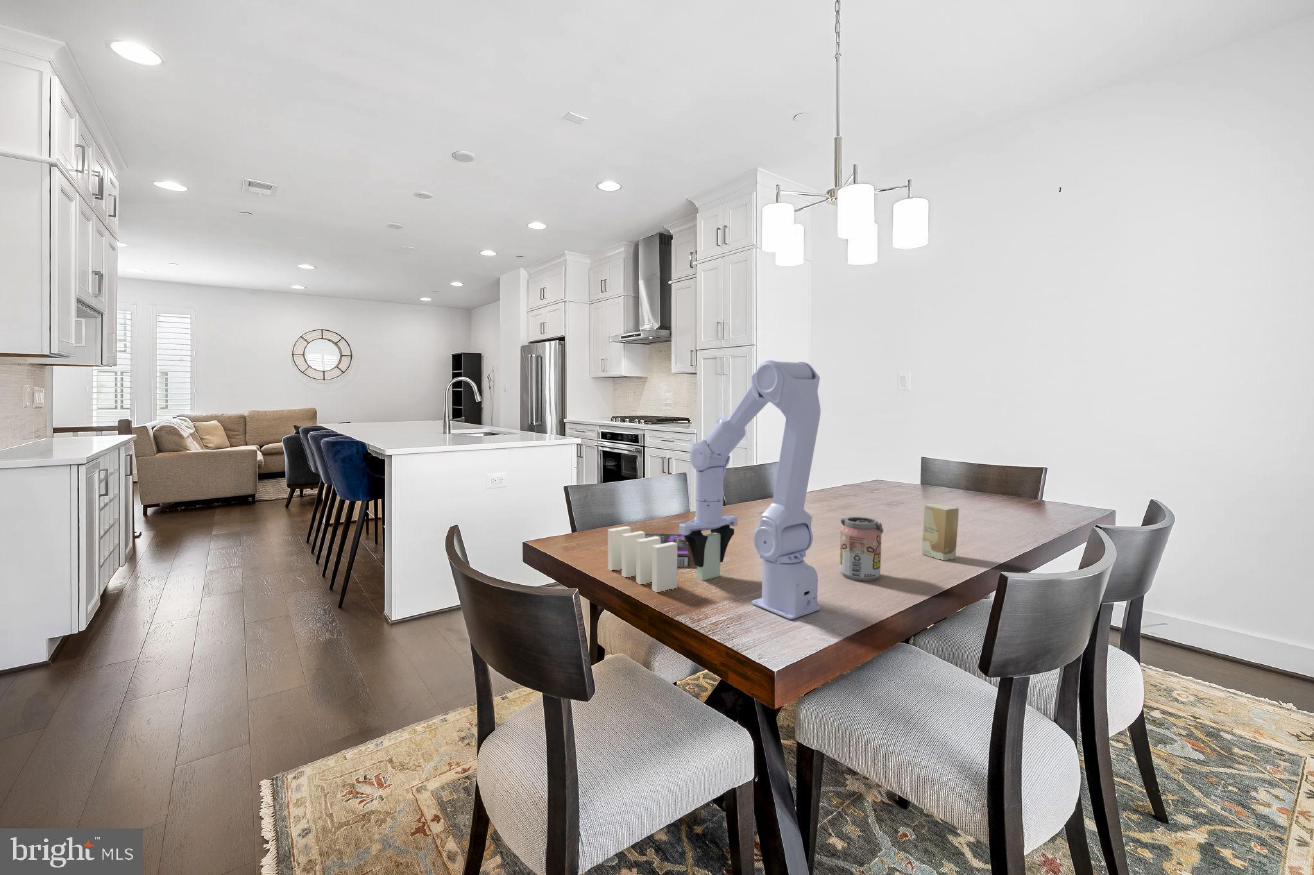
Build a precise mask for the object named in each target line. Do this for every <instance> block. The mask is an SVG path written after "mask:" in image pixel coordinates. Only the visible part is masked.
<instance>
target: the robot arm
mask: <svg viewBox="0 0 1314 875" xmlns="http://www.w3.org/2000/svg"><path fill="white" fill-rule="evenodd" d="M820 379H821V376H820V375H819V374H818V373H817V371H816V370H815V369H814V367H813V366H812V365H811V364H810V363H807V362H805V361H798V362H795V361H794V362H793V361H776V360H773V359H769V360H765V361H763V362H762V363H761V364H760V365H758V368H757V369H756V371H755V372H753V374H752V375H751V385H750V386H749V388H748V389H747V391H746V392H745V393H744V394H743V397H742V398H741V400H740V401H739V403H738V404H737V405H736V407H735V409H734V410H733V411H732V413H731V415H730V416H729V415H726V416H723V417H720V418H718V419H717V420H716V424H715V426H714V427H713V429H712V430H711V431H710V432H709V434H707V435H706V436H705V439H704V440H703V439H702V441H696V442H694V443H693V444H692V447H691V449H690V452H689V460H690V464H691V465H692V467H693V469H694V470H695V517H693V519H692V520H689V521H686V522H683V523H679V524H678V534H682V535H684V537H685V539H686V541H687V545H688V548H689V549H690V553H691V556H692V560H693V565H694V566H695V567H697V566H698V567H703V565H704V551H705V546H706V542H707V539H708V536H705V535H706V534H704V533H703V532H705V531H710V534H711V533H718V534H720V563H723V562H724V558H725V555H726V552H727V548H728V546H729V543H730V541H731V540H732V537H733V536H734V534H735V529H734V528H732V527H735V526H738V516H736V515H732V514H731V515H724V478H725V475H726V474H727V471H726V470H727V467H728V465H729V463H730V459H731V455H730V454H731V453H732V452H733V450H734V449H736V447H737V446H738V445H739V444H740V443H741V441H742V440H743V439H744V438H745V436H746V427H747V426H748V424H749V423H750V422H751V421H752V420H753V419H754V418H755V417H756V416H757V415H758V414H759V413H760V412H761V411H762V410H763V409H764V408H765V407H766V405H768V403H771V404H772V405H773V406H775V408H777V409H778V410H779V411H780V412H781V413H782V414H783V416H784V418H785V423H784V430H783V436H782V441H781V448H780V453H779V460H778V465H777V470H776V479H775V484H774V490H773V496H772V502H771V503H770V505H769V507H768V508H767V509H766V510H765V511H763V513H762V514H761V515H760V519H759V523H758V526H757V527H756V528H755V531H754V533H753V545H754V548H755V550H756V551H755V552H757V553H758V555H759V558H760V559H762V564H761V565H762V566H761V567H762V568H761V569H762V570H761V571H762V572H761V574H762V577H761V583H762V585H761V597H759V598H757V599H753V600H751V604H752V605H754V606H757V607H759V608H761V609H764V610H766V611H769V612H772V613H774V614H776V615H779V616H781V617H783V618H786V619H788V620H794V619H798V618H800V617H803V616H805V615H808V614H811V613H814V612H816V611H820V610H821V606H819V605H818V587H819V586H818V583H819V581H818V580H819V579H818V578H819V576H818V573H817V570H816V569H815V567H814V566H811V565H810V564H808V563H807V562H806V561H805V560H804V558H806V556H807V551H808V550H809V549H810V548H811V547H812V544H813V542H814V541H813V540H814V536H813V530H812V521H813V516H812V515H811V514H810V513H809V512H807V511H806V510H805V505H806V504H805V503H806V496H807V492H808V486H809V482H810V481H809V480H810V475H811V469H812V464H813V460H814V459H813V457H814V453H815V447H816V442H817V436H818V429H819V425H820V420H821V410H822V409H821V405H820V404H821V402H820V398H819V393H818V391H819V385H820Z"/></svg>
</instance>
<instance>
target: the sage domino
mask: <svg viewBox="0 0 1314 875" xmlns="http://www.w3.org/2000/svg"><path fill="white" fill-rule="evenodd" d="M704 535H705V536H708V539H707V542H706V546H705V551H704V565H703V567H698V566H696V568H697V569H696V571H697V572H696V578H697V580H700V581H706V580H710V579H713V578H717V577H721V562H720V534H718V533H711V532H710V533H707V534H704Z"/></svg>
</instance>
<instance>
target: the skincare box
mask: <svg viewBox="0 0 1314 875" xmlns="http://www.w3.org/2000/svg"><path fill="white" fill-rule="evenodd" d="M923 512H924V513H923V526H922V542H921V543H922V544H921V554H922V555H925V556H928V557H930V558H933V557H934V558H933V559H937V560H939V559H941V560H940V561H942V560H945V561H949V560H948V559H951V560H955V559H956V557H957V556H956V553H957V543H958V542H957V541H958V540H957V539H958V526H959V512H960V509H959V507H954V506H950V505H946V504H941V503H929V504H924V511H923ZM954 558H955V559H954Z"/></svg>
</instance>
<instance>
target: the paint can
mask: <svg viewBox="0 0 1314 875" xmlns="http://www.w3.org/2000/svg"><path fill="white" fill-rule="evenodd" d="M840 523H841V525H843V526H842V527H841V530H840V542H839V543H840V544H839V547H840V548H839V571H840V573H841V575H842V576H843V577H844V578H846V579H849V580H851V581H852V580H853V581H859V582H873V581H876V580H877V579H878V578H879V577H880V576H881V565H882V564H881V563H882V562H881V559H882V534H883V533H884V528H883V523H882V522H879V521H878V520H876V519H875V518H871V517H864V516H849V517H848V516H847V517H846V518H841V520H840Z"/></svg>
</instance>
